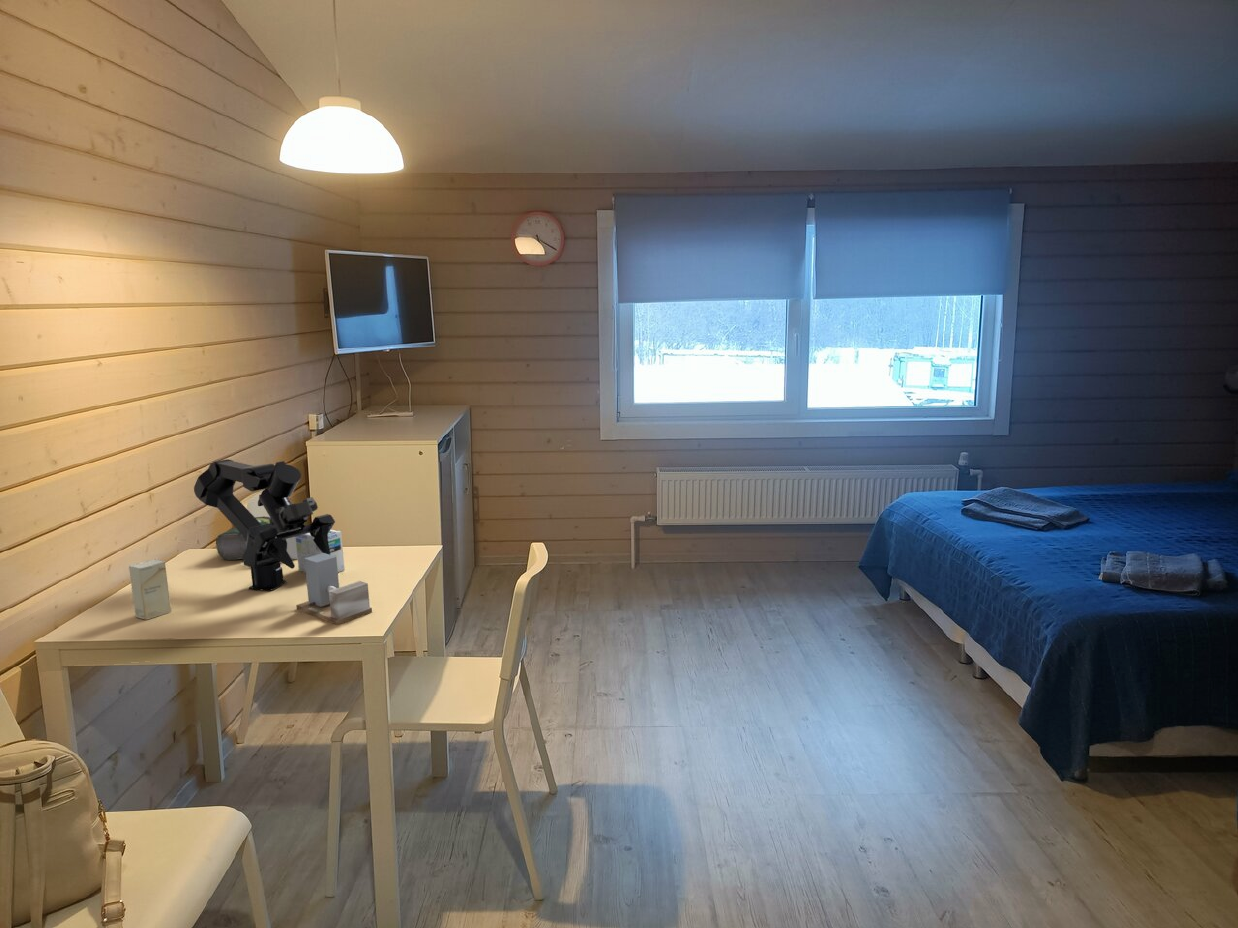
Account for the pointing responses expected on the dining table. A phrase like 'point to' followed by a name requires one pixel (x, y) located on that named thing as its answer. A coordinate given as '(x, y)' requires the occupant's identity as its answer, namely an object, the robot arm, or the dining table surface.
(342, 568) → the light bulb box
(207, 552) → the dining table surface
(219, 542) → the coffee jar
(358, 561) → the dining table surface
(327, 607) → the block on stand
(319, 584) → the blue-gray square block
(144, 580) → the skincare box
